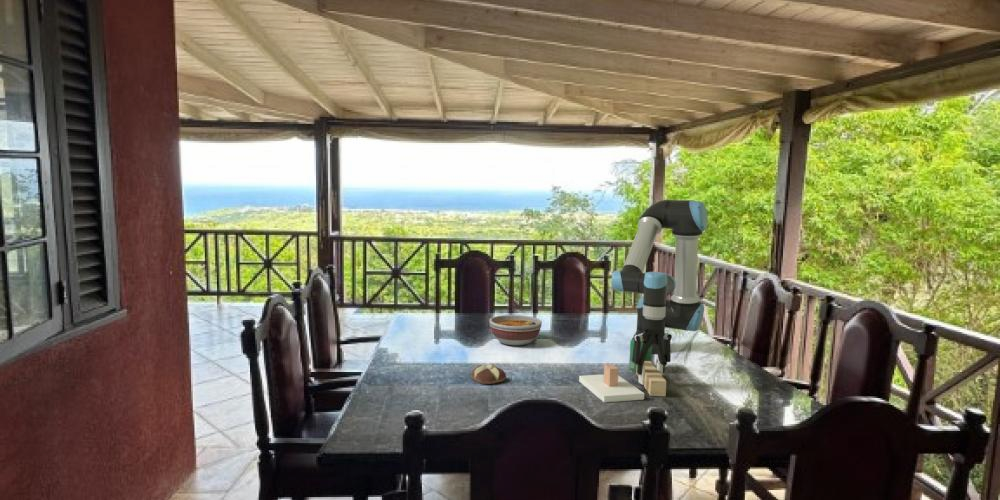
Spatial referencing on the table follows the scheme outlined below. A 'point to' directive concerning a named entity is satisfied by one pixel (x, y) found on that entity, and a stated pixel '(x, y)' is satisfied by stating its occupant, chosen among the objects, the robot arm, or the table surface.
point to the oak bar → (653, 380)
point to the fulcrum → (611, 386)
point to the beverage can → (649, 353)
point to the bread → (488, 374)
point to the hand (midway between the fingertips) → (650, 382)
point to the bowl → (515, 329)
